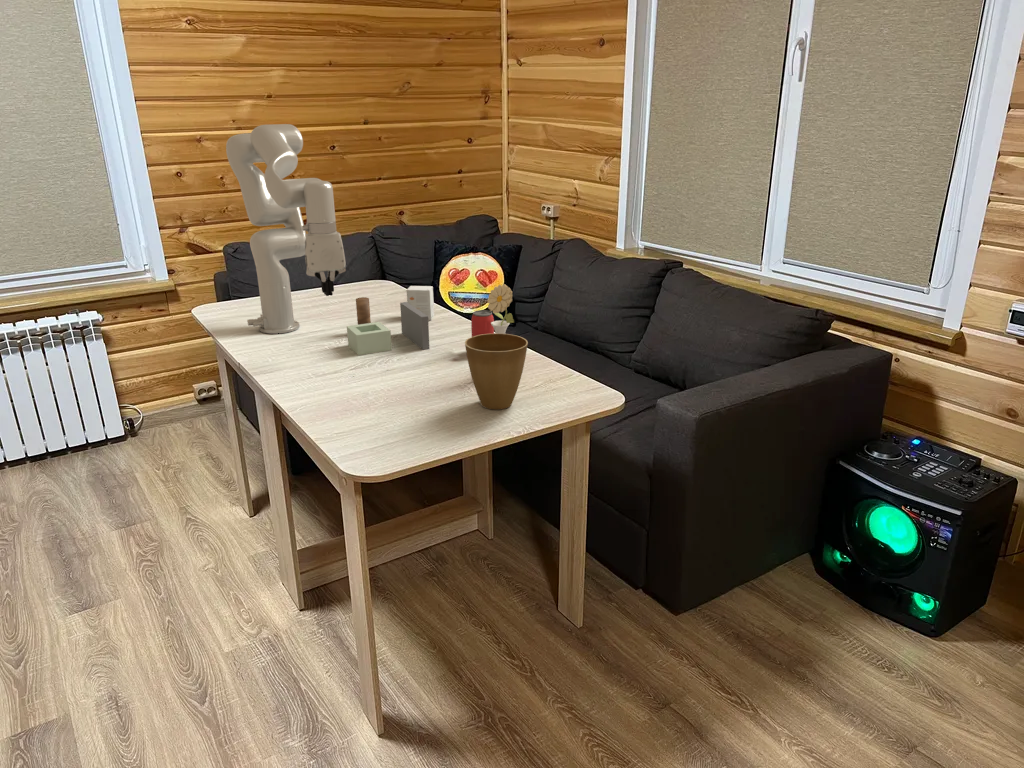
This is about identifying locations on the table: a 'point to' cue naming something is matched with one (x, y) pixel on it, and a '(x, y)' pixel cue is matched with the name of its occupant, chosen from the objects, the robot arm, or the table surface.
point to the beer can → (482, 322)
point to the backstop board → (415, 325)
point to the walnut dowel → (363, 310)
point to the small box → (421, 299)
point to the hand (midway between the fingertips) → (328, 294)
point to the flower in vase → (500, 307)
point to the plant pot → (496, 367)
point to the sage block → (369, 338)
